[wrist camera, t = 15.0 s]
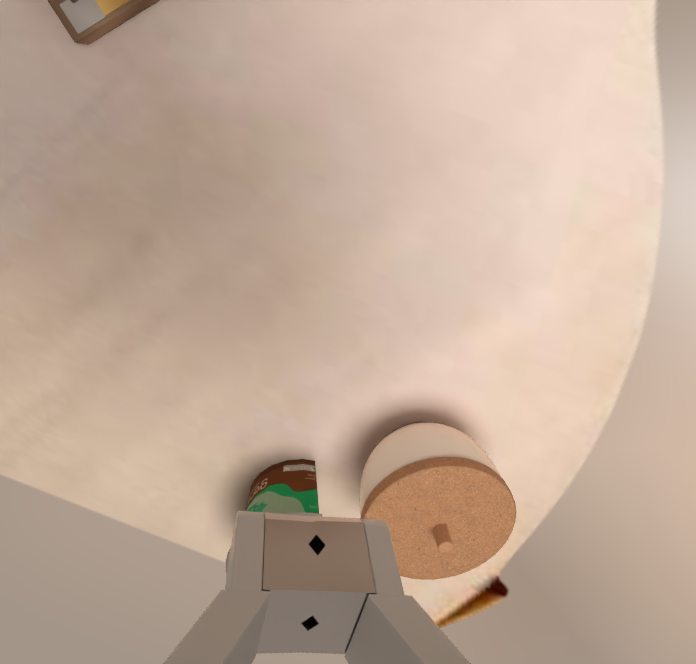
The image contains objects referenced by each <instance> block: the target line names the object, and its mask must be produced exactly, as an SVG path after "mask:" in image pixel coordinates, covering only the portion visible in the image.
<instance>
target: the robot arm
mask: <svg viewBox="0 0 696 664" xmlns="http://www.w3.org/2000/svg"><path fill="white" fill-rule="evenodd" d="M293 652H305V653H333V654H345V658H346V660H347V661H348V663H349V664H470V662H469V661H468V660H467V659H466V658H465V657H464V655H463V654H462V653H461V652H460V651H459V650H458V649H457V647H456V646H455V645H454V644H453V643H452V642H451V641H450V639H449V638H448V637H447V636H446V635H445V634H444V633H443V631H442V630H441V629H440V628H439V627H438V626H437V624H436V623H435V622H434V621H433V620H432V619H431V617H430V616H429V615H428V614H427V613H426V612H425V611H424V609H423V608H422V607H421V606H420V605H419V604H418V603H417V601H416V600H415V599H414V598H413V597H412V596H407V595H404V591H403V587H402V582H401V578H400V574H399V570H398V565H397V561H396V557H395V552H394V548H393V544H392V539H391V535H390V531H389V526H388V524H387V523H386V521H385V520H370V519H359V518H341V517H321V516H313V517H309V516H298V515H287V514H276V513H262V512H250V511H238V512H237V516H236V521H235V527H234V533H233V538H232V544H231V549H230V556H229V563H228V569H227V576H226V585H225V590H221V591H220V592H219V594H218V595H217V596H216V598H215V599H214V600H213V601H212V603H211V604H210V605H209V607H208V608H207V609H206V611H204V613H203V614H202V615H201V617H200V618H199V619H198V620H197V622H196V623H195V624H194V625H193V627H192V628H191V629H190V630H189V632H188V633H187V634H186V636H185V637H184V638H183V639H182V641H181V642H180V643H179V644H178V646H177V647H176V648H175V649H174V651H173V652H172V653H171V655H170V656H169V657H168V658H167V660H166V661H165V662H164V663H163V664H251V663H252V662H253V660H254V658H255V656H256V653H293Z"/></svg>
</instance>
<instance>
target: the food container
mask: <svg viewBox="0 0 696 664" xmlns="http://www.w3.org/2000/svg"><path fill="white" fill-rule="evenodd" d="M246 511H250V512H262V513H276V514H287V515H298V516H309V517H313V516H321V517H322V514H319V506H318V494H317V482H316V469H315V461H311V460H304V459H300V460H287V461H284V462H281V463H277V464H274V465H272V466H270V467H269V468H267V469H266V470H264V471H263V472H261V473H260V474H259V475H258V477H257V478H256V479H255V480H254V482H253V484H252V486H251V490H250V495H249V499H248V503H247V508H246ZM230 549H231V548H230ZM229 556H230V550H229V552H228V555H227V559H226V574H227V569H228V563H229Z"/></svg>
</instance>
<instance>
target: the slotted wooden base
mask: <svg viewBox="0 0 696 664" xmlns="http://www.w3.org/2000/svg"><path fill="white" fill-rule="evenodd" d="M158 1H159V0H48V2H49V3H50V5H51V6H52V8H53V9H54V11H55V13H56V14H57V16H58V17H59V19H60V20H61V22H62V23H63V25H64V26H65V28H66V29H67V31H68V32H69V34H70V35H71V37H72V38H73V40H74V42H77V43H82V44H87V45H88V44H90V43H92V42H93V41H95V40H97V39H98V38H100V37H101V36H103V35H105V34H106V33H108V32H109V31H111V30H113V29H114V28H116V27H117V26H119V25H121V24H122V23H124V22H126V21H127V20H129V19H130V18H132V17H134V16H135V15H137V14H138V13H140V12H142V11H143V10H145V9H146V8H148V7H150V6H151V5H153V4H155V3H156V2H158Z"/></svg>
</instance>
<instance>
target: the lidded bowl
mask: <svg viewBox="0 0 696 664" xmlns="http://www.w3.org/2000/svg"><path fill="white" fill-rule="evenodd" d="M359 501H360V513H361V519H370V520H385V521H386V523H387V524H388V526H389V531H390V535H391V539H392V544H393V548H394V552H395V557H396V561H397V565H398V570H399V574H400V576H403V577H407V578H412V579H440V578H447V577H451V576H456V575H459V574H462V573H464V572H467V571H469V570H471V569H474V568H476V567H478V566H479V565H481V564H483V563H484V562H486V561H487V560H489V559H490V558H491V557H492V556H494V555H495V554H496V553H497V552H498V551H499V550H500V549H501V548H502V546H503V545H504V544H505V543H506V541H507V540H508V538H509V536H510V534H511V532H512V530H513V527H514V524H515V519H516V506H515V501H514V499H513V496H512V494H511V491H510V490H509V488H508V486H507V485H506V483H505V481H504V480H503V479H502V478H501V476H500V474H499V472H498V470H497V469H496V467H495V465H494V464H493V462H492V461H491V459H490V458H489V456H488V455H487V454H486V452H485V451H484V450H483V449H482V448H481V447H480V446H479V445H478V444H477V443H476V442H475V441H474V440H473V439H471V438H470V437H469V436H467V435H466V434H464V433H463V432H461V431H459V430H457V429H455V428H453V427H450V426H446V425H443V424H438V423H412V424H408V425H405V426H403V427H401V428H399V429H397V430H395V431H394V432H392V433H391V434H389V435H388V436H386V437H385V438H384V439H383V440H382V441H381V442H380V443H379V444H378V445H377V446H376V447H375V449H374V450H373V451H372V453H371V454H370V456H369V458H368V460H367V462H366V464H365V467H364V470H363V473H362V478H361V485H360V498H359Z"/></svg>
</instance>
